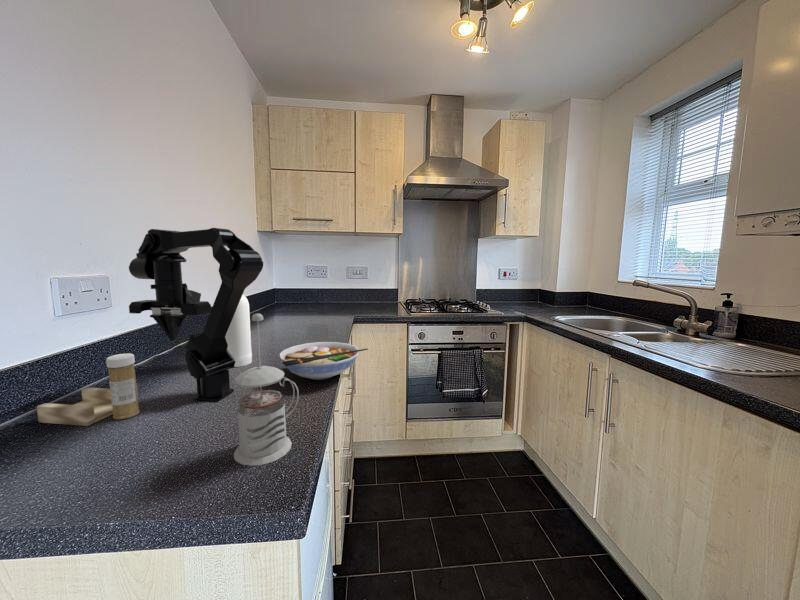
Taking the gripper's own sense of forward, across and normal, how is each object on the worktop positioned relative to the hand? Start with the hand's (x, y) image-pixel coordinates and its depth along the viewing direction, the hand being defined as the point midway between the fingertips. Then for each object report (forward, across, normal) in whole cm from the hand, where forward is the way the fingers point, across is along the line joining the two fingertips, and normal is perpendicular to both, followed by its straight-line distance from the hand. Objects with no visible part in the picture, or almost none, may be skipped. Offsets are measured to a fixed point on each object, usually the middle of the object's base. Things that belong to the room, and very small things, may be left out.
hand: (173, 340), depth 84 cm
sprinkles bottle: (+13, -1, +15) cm, 20 cm away
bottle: (+13, -4, -21) cm, 25 cm away
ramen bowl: (+13, -34, -14) cm, 39 cm away
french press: (+13, -38, +22) cm, 46 cm away
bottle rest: (+13, +8, +15) cm, 22 cm away
